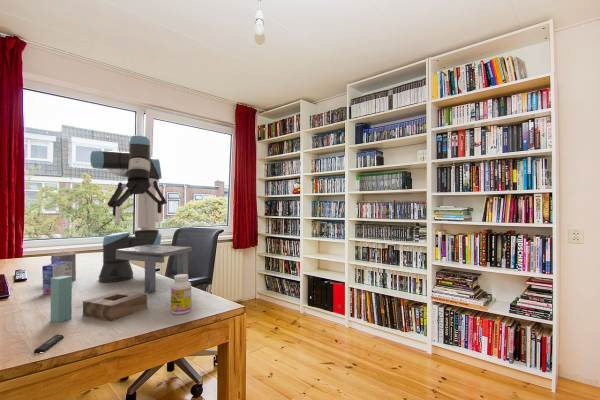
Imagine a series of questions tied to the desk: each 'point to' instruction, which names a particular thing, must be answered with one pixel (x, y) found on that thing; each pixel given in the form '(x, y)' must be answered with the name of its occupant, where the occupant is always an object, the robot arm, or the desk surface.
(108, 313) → the socket block
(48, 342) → the usb stick
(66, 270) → the ink cartridge box
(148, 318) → the desk surface
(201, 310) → the desk surface
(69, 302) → the peg
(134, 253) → the grey step stool
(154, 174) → the robot arm
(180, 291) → the supplement bottle
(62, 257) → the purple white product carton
